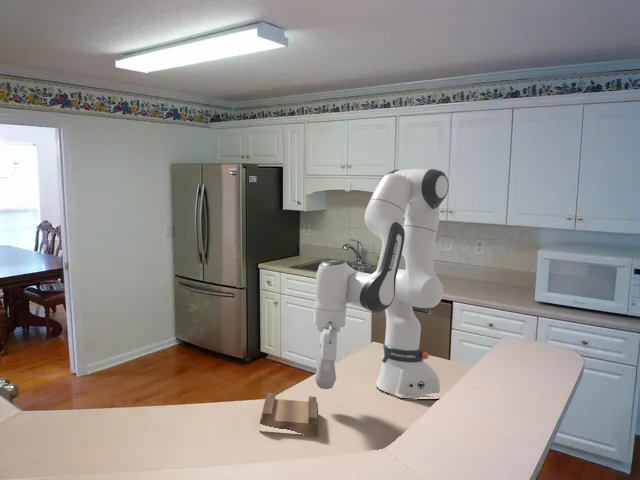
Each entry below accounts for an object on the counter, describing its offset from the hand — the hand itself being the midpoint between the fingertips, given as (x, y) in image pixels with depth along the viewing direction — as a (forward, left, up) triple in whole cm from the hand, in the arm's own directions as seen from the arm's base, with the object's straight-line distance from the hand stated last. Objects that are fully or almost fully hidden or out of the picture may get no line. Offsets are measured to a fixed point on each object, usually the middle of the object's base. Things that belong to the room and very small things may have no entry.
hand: (326, 367), depth 129 cm
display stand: (+9, +11, -12) cm, 18 cm away
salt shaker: (0, 0, -5) cm, 5 cm away
